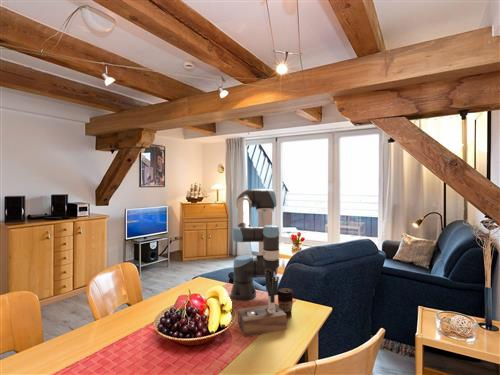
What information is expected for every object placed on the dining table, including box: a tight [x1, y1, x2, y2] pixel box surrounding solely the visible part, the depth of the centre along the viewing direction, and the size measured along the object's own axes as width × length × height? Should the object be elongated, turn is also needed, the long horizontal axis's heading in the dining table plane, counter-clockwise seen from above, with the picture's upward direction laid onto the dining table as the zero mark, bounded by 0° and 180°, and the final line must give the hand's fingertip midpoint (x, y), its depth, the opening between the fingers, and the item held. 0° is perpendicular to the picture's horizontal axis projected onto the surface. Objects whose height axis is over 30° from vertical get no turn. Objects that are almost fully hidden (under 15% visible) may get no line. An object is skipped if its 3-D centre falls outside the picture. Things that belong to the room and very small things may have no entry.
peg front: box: [247, 311, 256, 317], centre depth 128 cm, size 4×4×6 cm
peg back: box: [267, 308, 276, 313], centre depth 131 cm, size 4×4×6 cm
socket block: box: [237, 303, 288, 338], centre depth 130 cm, size 12×20×7 cm, turn 107°
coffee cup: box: [276, 287, 295, 319], centre depth 141 cm, size 9×8×13 cm
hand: (271, 308), depth 131 cm, fingers closed
